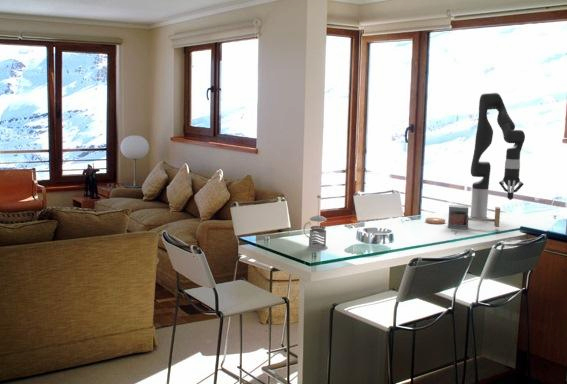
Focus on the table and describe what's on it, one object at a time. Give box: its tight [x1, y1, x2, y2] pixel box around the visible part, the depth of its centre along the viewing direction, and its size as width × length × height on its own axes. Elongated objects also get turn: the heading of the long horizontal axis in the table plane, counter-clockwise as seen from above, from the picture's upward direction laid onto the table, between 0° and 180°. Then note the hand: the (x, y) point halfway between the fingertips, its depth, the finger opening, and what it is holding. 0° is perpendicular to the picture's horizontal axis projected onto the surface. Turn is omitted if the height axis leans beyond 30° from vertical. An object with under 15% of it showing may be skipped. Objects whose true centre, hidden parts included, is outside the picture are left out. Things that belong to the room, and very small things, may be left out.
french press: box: [303, 194, 329, 251], centre depth 310 cm, size 10×12×25 cm
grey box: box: [447, 204, 469, 230], centre depth 366 cm, size 7×10×12 cm, turn 77°
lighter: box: [451, 211, 466, 225], centre depth 366 cm, size 8×3×10 cm, turn 84°
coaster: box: [424, 217, 446, 225], centre depth 380 cm, size 11×11×2 cm
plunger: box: [466, 206, 501, 229], centre depth 363 cm, size 6×17×12 cm, turn 77°
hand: (510, 199), depth 358 cm, fingers closed
